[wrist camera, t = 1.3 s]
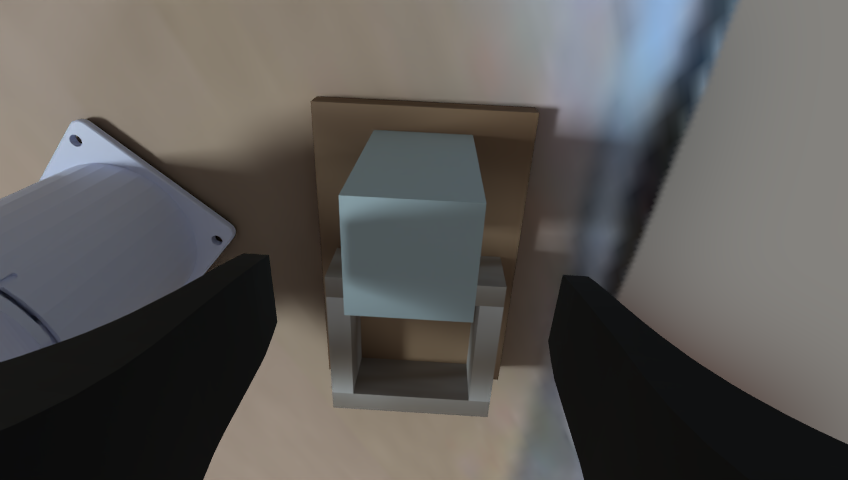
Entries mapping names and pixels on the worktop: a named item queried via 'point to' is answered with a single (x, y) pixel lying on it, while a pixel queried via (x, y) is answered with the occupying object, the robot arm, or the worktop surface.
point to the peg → (413, 227)
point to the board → (505, 201)
